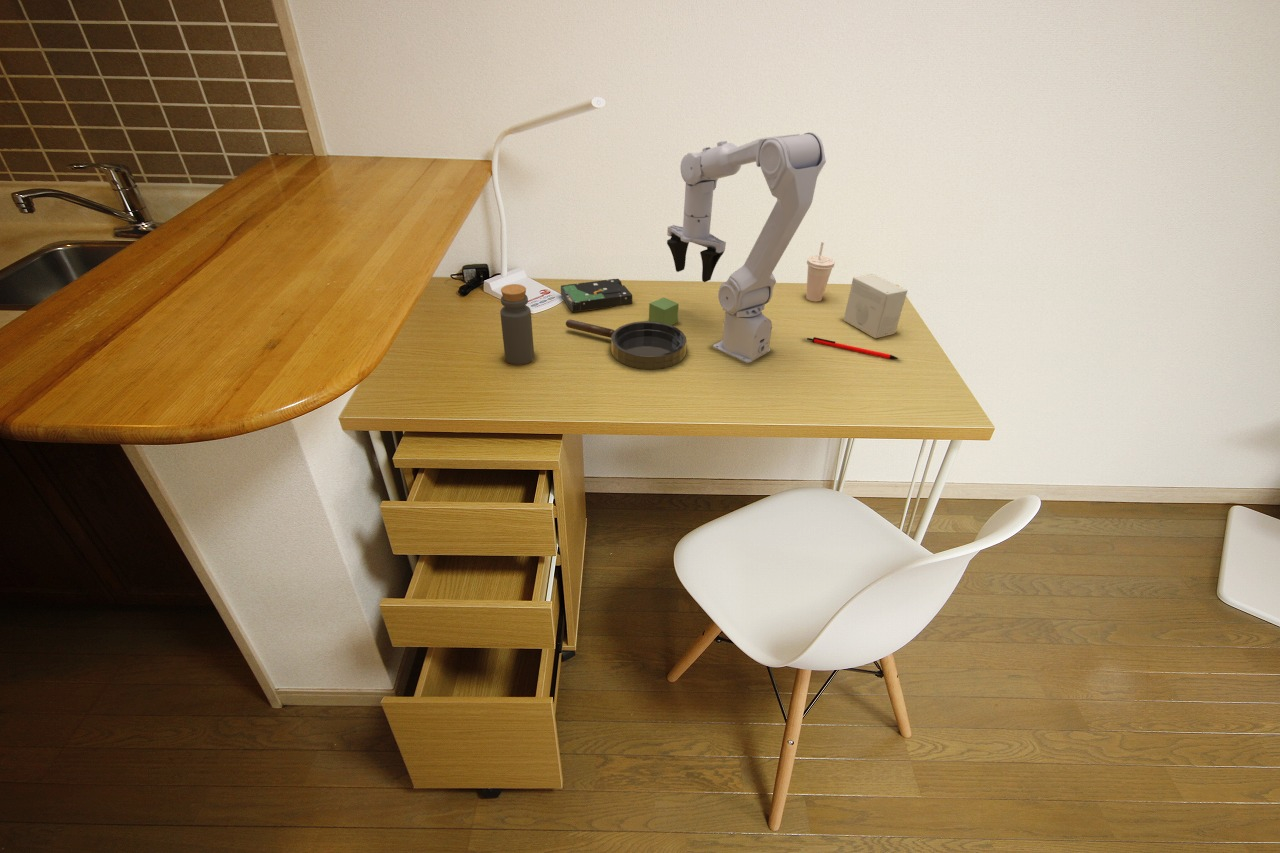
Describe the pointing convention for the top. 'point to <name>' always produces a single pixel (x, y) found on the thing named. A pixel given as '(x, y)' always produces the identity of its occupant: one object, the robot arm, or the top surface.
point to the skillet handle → (589, 328)
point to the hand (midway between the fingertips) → (693, 275)
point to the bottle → (516, 325)
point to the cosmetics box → (874, 305)
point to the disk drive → (595, 295)
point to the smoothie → (818, 275)
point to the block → (663, 311)
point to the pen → (851, 348)
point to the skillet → (648, 345)
